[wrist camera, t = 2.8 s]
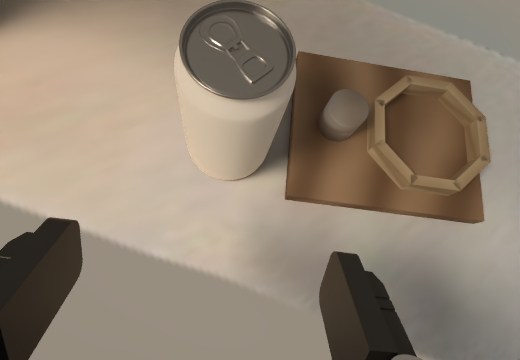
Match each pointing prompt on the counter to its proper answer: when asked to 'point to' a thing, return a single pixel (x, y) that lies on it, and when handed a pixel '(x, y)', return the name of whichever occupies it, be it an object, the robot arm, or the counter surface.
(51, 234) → the robot arm
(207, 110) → the can
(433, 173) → the board
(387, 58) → the counter surface
